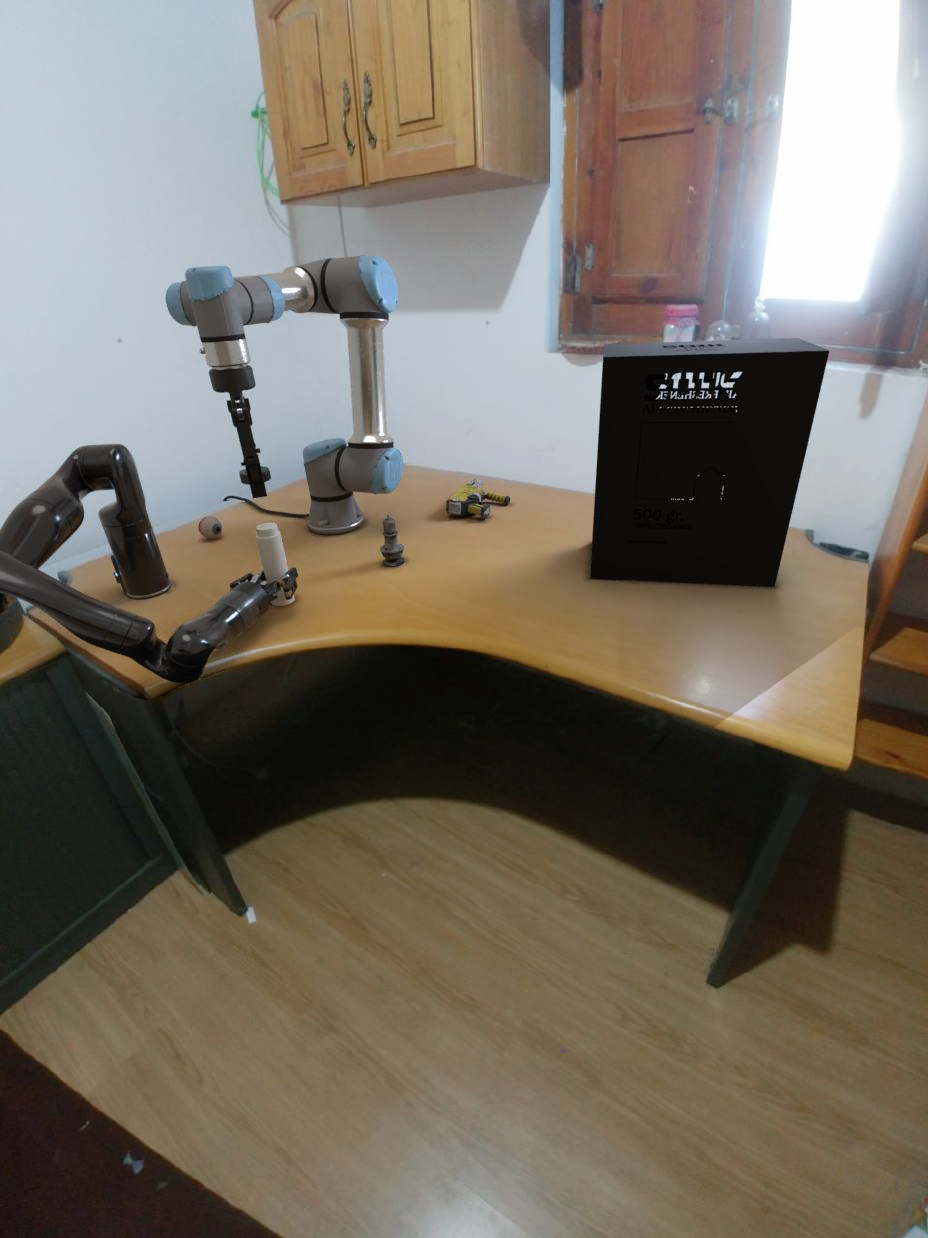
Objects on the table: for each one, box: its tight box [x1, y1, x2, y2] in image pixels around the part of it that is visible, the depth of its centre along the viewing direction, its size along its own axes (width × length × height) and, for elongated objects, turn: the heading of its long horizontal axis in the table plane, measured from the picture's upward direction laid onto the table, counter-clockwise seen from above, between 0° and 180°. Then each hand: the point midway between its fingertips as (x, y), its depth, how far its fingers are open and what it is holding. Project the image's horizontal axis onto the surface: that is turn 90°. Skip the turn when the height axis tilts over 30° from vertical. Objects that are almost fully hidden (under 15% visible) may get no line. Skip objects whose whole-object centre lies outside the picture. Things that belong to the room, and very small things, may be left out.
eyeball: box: [197, 516, 223, 540], centre depth 164 cm, size 6×6×6 cm
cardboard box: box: [589, 337, 830, 587], centre depth 126 cm, size 38×20×45 cm, turn 78°
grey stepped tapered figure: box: [379, 514, 405, 567], centre depth 143 cm, size 6×6×12 cm
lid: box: [238, 465, 272, 486], centre depth 117 cm, size 6×6×2 cm
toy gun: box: [445, 478, 511, 520], centre depth 176 cm, size 5×24×15 cm
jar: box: [255, 522, 296, 607], centre depth 127 cm, size 5×5×17 cm
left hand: (283, 570), depth 130 cm, fingers closed on jar, 5 cm apart
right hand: (259, 491), depth 119 cm, fingers closed on lid, 5 cm apart
